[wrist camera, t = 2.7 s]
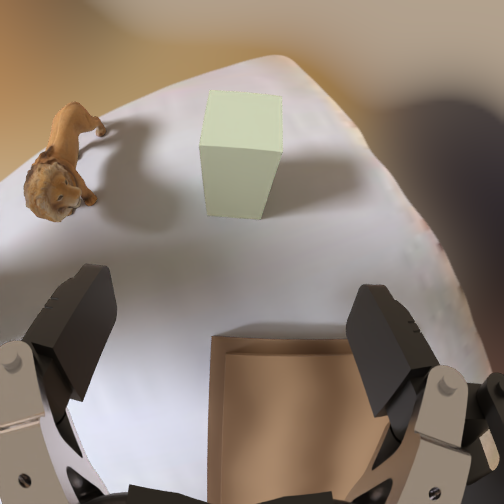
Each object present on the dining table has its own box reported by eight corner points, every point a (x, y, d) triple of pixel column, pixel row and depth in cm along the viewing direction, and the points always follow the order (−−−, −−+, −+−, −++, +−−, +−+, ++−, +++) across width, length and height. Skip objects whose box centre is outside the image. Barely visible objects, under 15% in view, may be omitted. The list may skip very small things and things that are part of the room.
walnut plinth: (208, 506, 17) (206, 537, 13) (213, 335, 22) (210, 337, 17) (360, 494, 19) (383, 517, 14) (378, 337, 23) (411, 336, 18)
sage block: (207, 215, 24) (198, 145, 15) (212, 170, 26) (209, 90, 16) (260, 219, 25) (282, 152, 15) (262, 173, 26) (282, 96, 16)
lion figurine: (113, 238, 23) (65, 191, 14) (62, 252, 22) (4, 216, 14) (107, 115, 27) (83, 56, 18) (66, 130, 26) (34, 77, 17)
